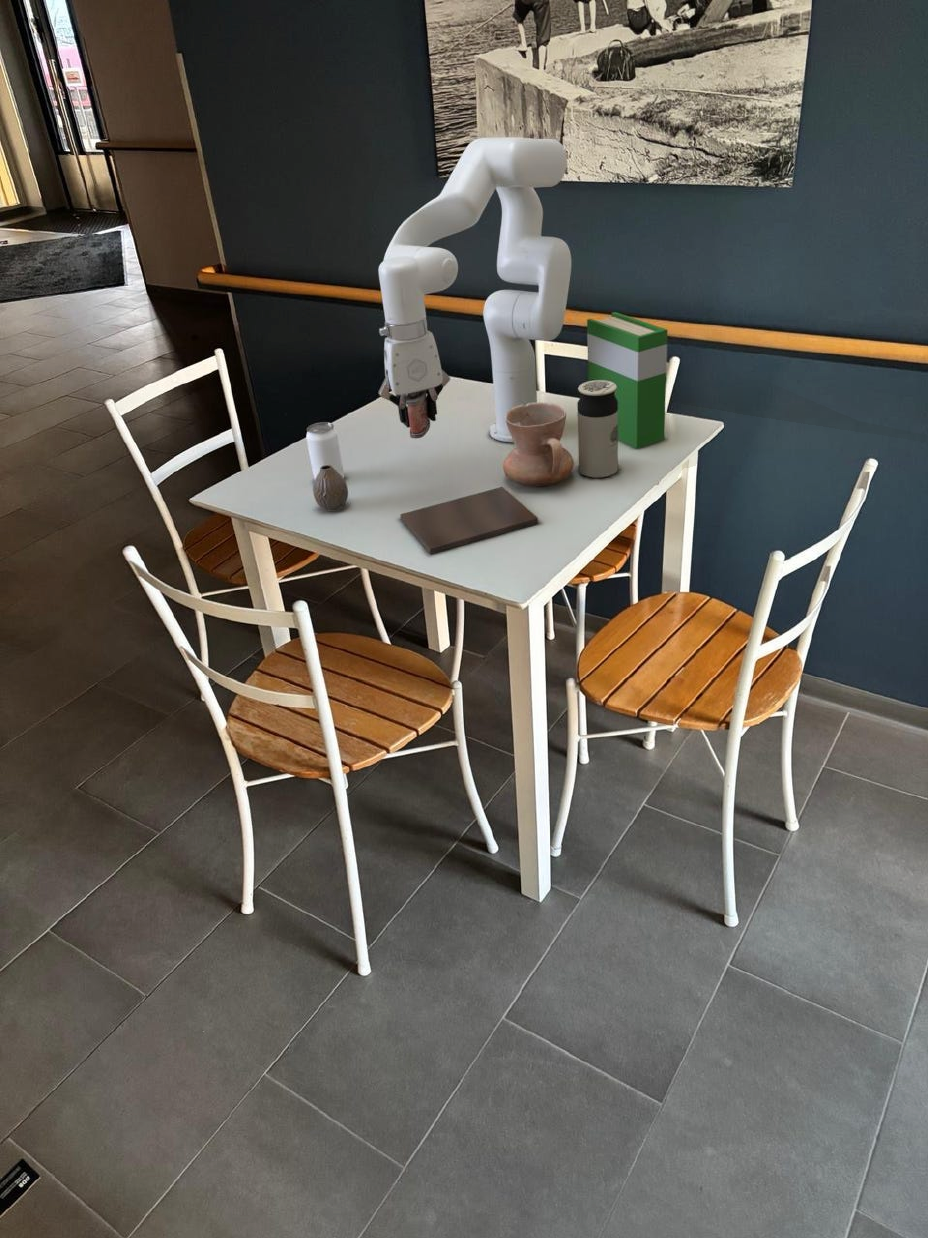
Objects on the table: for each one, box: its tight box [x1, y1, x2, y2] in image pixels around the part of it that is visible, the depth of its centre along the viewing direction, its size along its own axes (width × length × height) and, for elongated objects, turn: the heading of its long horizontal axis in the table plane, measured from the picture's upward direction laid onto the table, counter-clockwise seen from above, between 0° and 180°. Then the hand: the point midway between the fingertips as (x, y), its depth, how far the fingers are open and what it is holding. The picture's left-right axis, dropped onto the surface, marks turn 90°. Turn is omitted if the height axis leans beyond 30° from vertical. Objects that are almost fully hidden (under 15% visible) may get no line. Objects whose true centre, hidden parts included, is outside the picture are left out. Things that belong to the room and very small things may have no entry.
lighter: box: [406, 390, 431, 440], centre depth 182 cm, size 8×3×10 cm, turn 168°
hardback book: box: [586, 311, 669, 450], centre depth 203 cm, size 18×7×24 cm, turn 29°
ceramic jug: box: [502, 401, 575, 487], centre depth 190 cm, size 18×14×14 cm
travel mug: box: [576, 380, 619, 479], centre depth 190 cm, size 8×8×18 cm
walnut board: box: [399, 486, 539, 555], centre depth 181 cm, size 22×16×1 cm
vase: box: [312, 465, 349, 512], centre depth 189 cm, size 7×7×9 cm
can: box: [305, 421, 345, 481], centre depth 199 cm, size 6×6×12 cm
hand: (419, 420), depth 183 cm, fingers closed on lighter, 4 cm apart
